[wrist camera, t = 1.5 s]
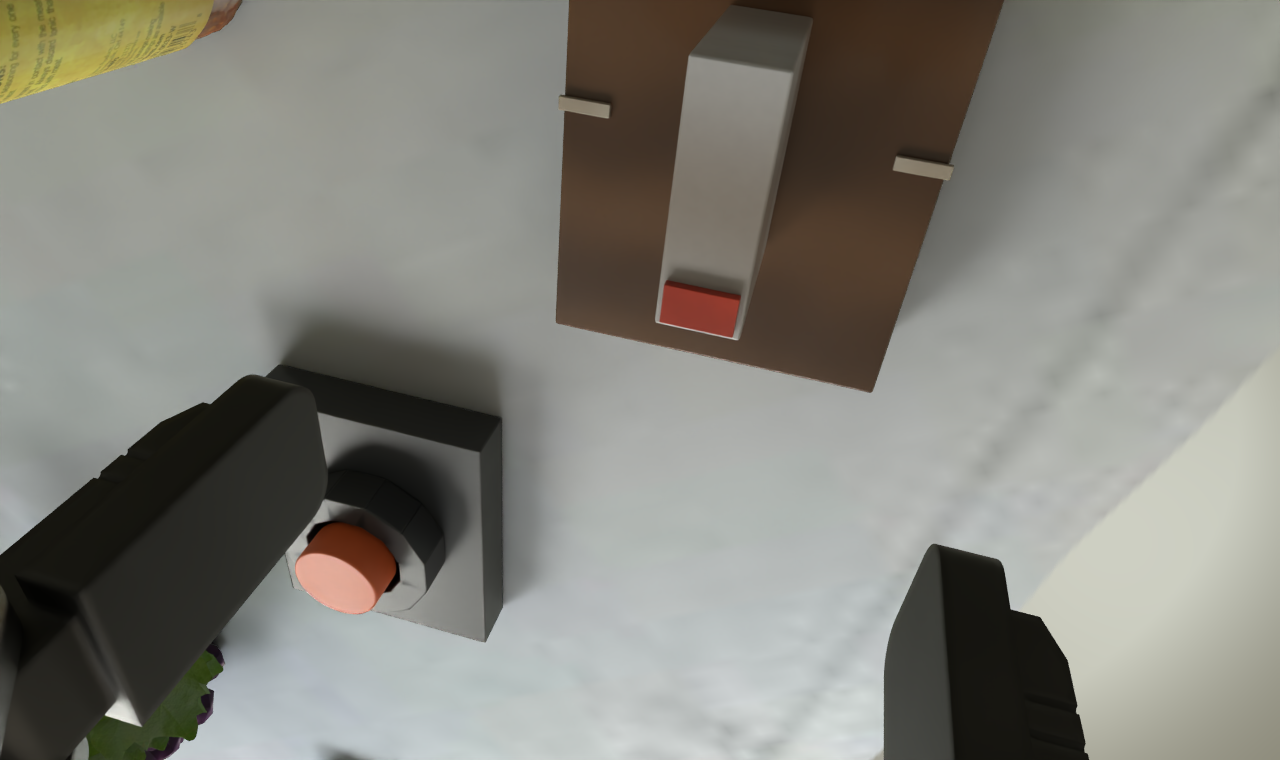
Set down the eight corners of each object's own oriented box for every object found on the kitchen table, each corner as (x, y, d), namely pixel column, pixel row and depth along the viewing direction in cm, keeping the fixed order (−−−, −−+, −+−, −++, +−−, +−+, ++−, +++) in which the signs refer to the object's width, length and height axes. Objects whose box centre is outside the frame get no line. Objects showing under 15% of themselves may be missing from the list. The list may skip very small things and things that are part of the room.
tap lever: (729, 3, 19) (685, 56, 15) (813, 17, 19) (792, 74, 15) (694, 234, 23) (651, 328, 18) (765, 248, 22) (737, 347, 18)
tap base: (610, -222, 20) (570, -227, 17) (1043, -170, 18) (1068, -168, 16) (580, 280, 28) (550, 325, 25) (876, 343, 27) (875, 398, 24)
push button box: (278, 363, 34) (215, 420, 31) (502, 417, 32) (460, 482, 29) (317, 555, 41) (270, 618, 38) (503, 607, 40) (469, 676, 36)
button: (312, 512, 33) (287, 542, 32) (393, 534, 32) (371, 566, 31) (324, 570, 35) (301, 601, 34) (400, 591, 35) (380, 624, 33)
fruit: (153, 613, 55) (107, 526, 43) (276, 706, 54) (264, 643, 42) (8, 750, 48) (-93, 692, 37) (145, 857, 48) (88, 833, 36)
